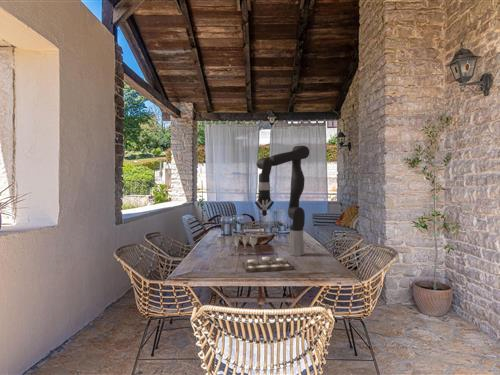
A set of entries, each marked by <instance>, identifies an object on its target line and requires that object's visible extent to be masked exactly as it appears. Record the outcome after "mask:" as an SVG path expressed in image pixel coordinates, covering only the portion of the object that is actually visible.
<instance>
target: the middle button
mask: <svg viewBox="0 0 500 375" xmlns="http://www.w3.org/2000/svg"><path fill="white" fill-rule="evenodd" d="M261 259H262V261H270V259H271V257H270V256H262V257H261Z"/></svg>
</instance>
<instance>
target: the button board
mask: <svg viewBox="0 0 500 375" xmlns="http://www.w3.org/2000/svg"><path fill="white" fill-rule="evenodd" d="M277 258H278V257H277ZM277 258H276V257H274V258H273V259H271V258H270V261H262V258H259V261H258V260H257V259H255V258H254V260H256V262H247V260H248V259H244V261H242V262H241V266H242V268H243V269H244V271H245V273H257V272H258V273H259V272H273V271H291V270H294V266H293V264H291V263H290V262H289V261H288V259H286V257H283V258H284V259H285V260H281V261H277V260H276V259H277Z"/></svg>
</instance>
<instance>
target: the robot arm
mask: <svg viewBox="0 0 500 375" xmlns="http://www.w3.org/2000/svg"><path fill="white" fill-rule="evenodd" d="M309 156H310V149H309V147H308V146H306V145H296V146H294V147H292V150H291V151H285V152H282V153H278V154H274V155H270V156H267V157H266V156H265V157H261V158H260V159H258V160H257V161H256V167H257V168H258V169H259V170H261V172H260V173H259V174H258V186H257V188H258V193H257V194H258V198H257V200H256V201H254V204H255V205H256V206H257V208H258V209H259V210H261V215H262V216H263V217H267V214H268V210H270V209H271V207H272V206H273V204H274V203H275V202H274V201H273V200H272V198H271V184H270V179H271V178H270V177H271V176H270V175H271V171H272V167H276V166H280V165H283V164H285V163H289V162H291V177H290V178H291V179H290V180H291V181H290V193H289V203H288V208H287V209H288V210H287V215H288V218H289V219H291V220H292V222H291V225H289V255H290V256H293V257H294V256H295V257H300V256H305V240H304V227H305V220H306V218H305V217H306V216H305V214H306V213H305V210H304V208H302V207H300V199H301V196H302V194H303V192H304V189H305V181H306V180H305V175H304V172H303V170H302V160H306V159H307V158H308V157H309Z"/></svg>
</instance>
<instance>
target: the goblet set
mask: <svg viewBox="0 0 500 375" xmlns="http://www.w3.org/2000/svg"><path fill="white" fill-rule="evenodd" d="M241 239H242V244H243V246H244V248H246V246H247V243H249V245H251V247H252V249H254V247H255V246H256V244H257V243H258V238H257V236H249V238H248V235H242V238H241ZM232 242H233V243H234V245H235V247H236V248H235V249H236V251H238V245H239V243H240V236H239V235H237V234H236V235H234V236H232V235H225V236H224V237H222V236H219V237H216V243H217V245H218V247H219V251H220V252H219V253H218V254H217V256H224V254H223V253H222V252H221V251H222V246H223V244H224V243H225V244H226V246H227V249H228V253H225V256H231V255H234V256H239V254H240V253H234V254H233V253H230V246H231V244H232ZM243 254H244V255H243V256H247V255H246V254H247V253H246V252H244V253H243ZM250 254H256V253H255V252H251V253H250Z"/></svg>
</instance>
